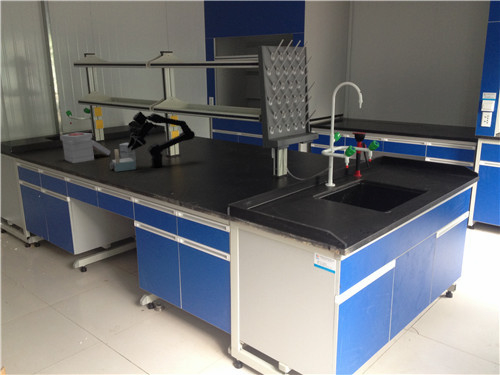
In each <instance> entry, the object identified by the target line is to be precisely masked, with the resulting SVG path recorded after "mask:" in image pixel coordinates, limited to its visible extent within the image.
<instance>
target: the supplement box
mask: <svg viewBox="0 0 500 375" xmlns="http://www.w3.org/2000/svg"><path fill="white" fill-rule="evenodd" d="M128 144H129V142H123V143H120V144H118V145H119V152H120V153H119V157H120V159H124V158H132V159H133V160H134V161H136V162H137V160H136V159H137V158H136V149H134V150H132V151H131V148H132V147H130V148H127V146H128Z"/></svg>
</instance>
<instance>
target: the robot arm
mask: <svg viewBox="0 0 500 375" xmlns="http://www.w3.org/2000/svg"><path fill="white" fill-rule="evenodd" d="M132 120H133V121H134V122H136V124H138V125H139V126H141V127H139V128H138V127H136V126H133V127H132V126H129V128H128V132H129V133H130V134H129V137H130V139H129V142H128V143H129V144H128V146H127V148H130V147H132V148H131V151H132V150H134V149H135V150H137V149H138V148H141V147H142V146H145V145H146V144H147V140H146V139H145V138H147V137H148V136H149V133H150V132H151V131H152V130H153V129H154V130H157V124H167V125H171V126H172V125H173V126H178V127H180V130H181V131H182V132H181V133H180V134H179V135H177V136H175V137H173V138H170V139H169V140H165V141H164V142H162V143H157V142H155V143H153V144H151V145H150V146H148V148H147V153H148V154H149V155H150V156H151V165H150V167H151V168H156V169H158V168H161V167H164V166H165V165H164V164H163V154H162V153H163V151H164V150H167V149H169V148H170V147H173V146H175V145H177V144H179V143H182V142H186V141H190V140H191V141H192V140H194V138H195V135H196V133H195V132H194V131H193V130H192V129H191V128H190V126H189V125H188V124H187V123H186V121H185V120H181V119H180V120H179V119H175V118H170V117H166V116H165V117H164V116H162V115H160V114H157V113H155V112H154V113H151V114H150V115H147V116H146V115H145V114H144V113H142V111H139V112H137V113H136V114H134V116H133V117H132Z"/></svg>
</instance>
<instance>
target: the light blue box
mask: <svg viewBox="0 0 500 375" xmlns="http://www.w3.org/2000/svg"><path fill="white" fill-rule="evenodd" d="M119 159H120V162H128V161H134V160H133V159H132V158H124V159H121V158H119ZM115 163H116V160H115V159H111V162H109V168H110V170H114V171H115V172H116V166H115Z"/></svg>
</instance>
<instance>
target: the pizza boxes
mask: <svg viewBox="0 0 500 375" xmlns="http://www.w3.org/2000/svg"><path fill="white" fill-rule="evenodd" d="M59 138H60V141H62V147H63V155H64V160H65V161H67V162H69V163H72V164H76V163H83V162H89V161H94V160H95V156H94V150H95V151H97V152H99V153H100V154H104V155H107V156H110V154H111V153H112V152H111V150H110V149H108V148H106V147H105V146H103V145H101V144H100V143H99V142H97V141H95V140H93V133H90V132H89V133H88V132H76V131H75V132H71V133H67V134H61V135H59Z"/></svg>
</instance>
